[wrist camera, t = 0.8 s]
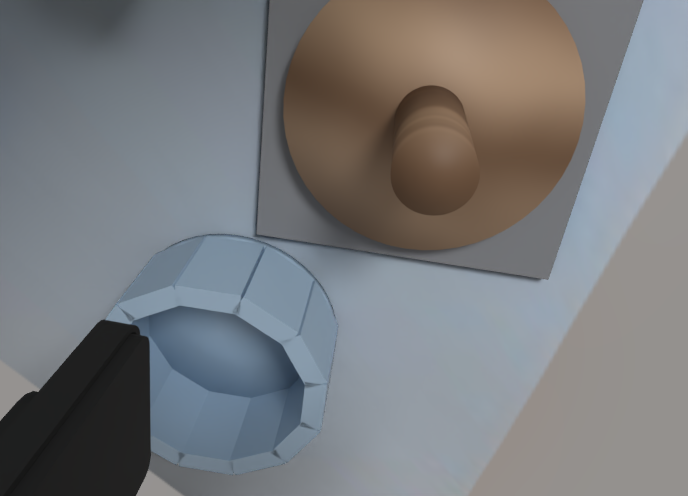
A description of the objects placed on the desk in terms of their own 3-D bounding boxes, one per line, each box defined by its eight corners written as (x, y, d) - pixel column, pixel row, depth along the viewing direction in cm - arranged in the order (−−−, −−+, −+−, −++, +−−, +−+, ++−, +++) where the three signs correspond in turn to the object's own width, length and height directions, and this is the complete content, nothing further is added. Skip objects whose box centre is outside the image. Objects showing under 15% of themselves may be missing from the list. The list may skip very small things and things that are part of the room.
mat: (278, -102, 22) (275, -103, 22) (655, -50, 22) (660, -49, 21) (258, 229, 29) (256, 234, 29) (546, 274, 29) (548, 279, 28)
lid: (299, -68, 22) (257, -63, 16) (622, -23, 22) (704, -1, 16) (278, 219, 28) (241, 302, 22) (532, 257, 28) (567, 353, 22)
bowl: (128, 218, 29) (79, 270, 25) (348, 252, 29) (337, 311, 25) (139, 386, 35) (99, 452, 30) (325, 416, 34) (312, 488, 30)
